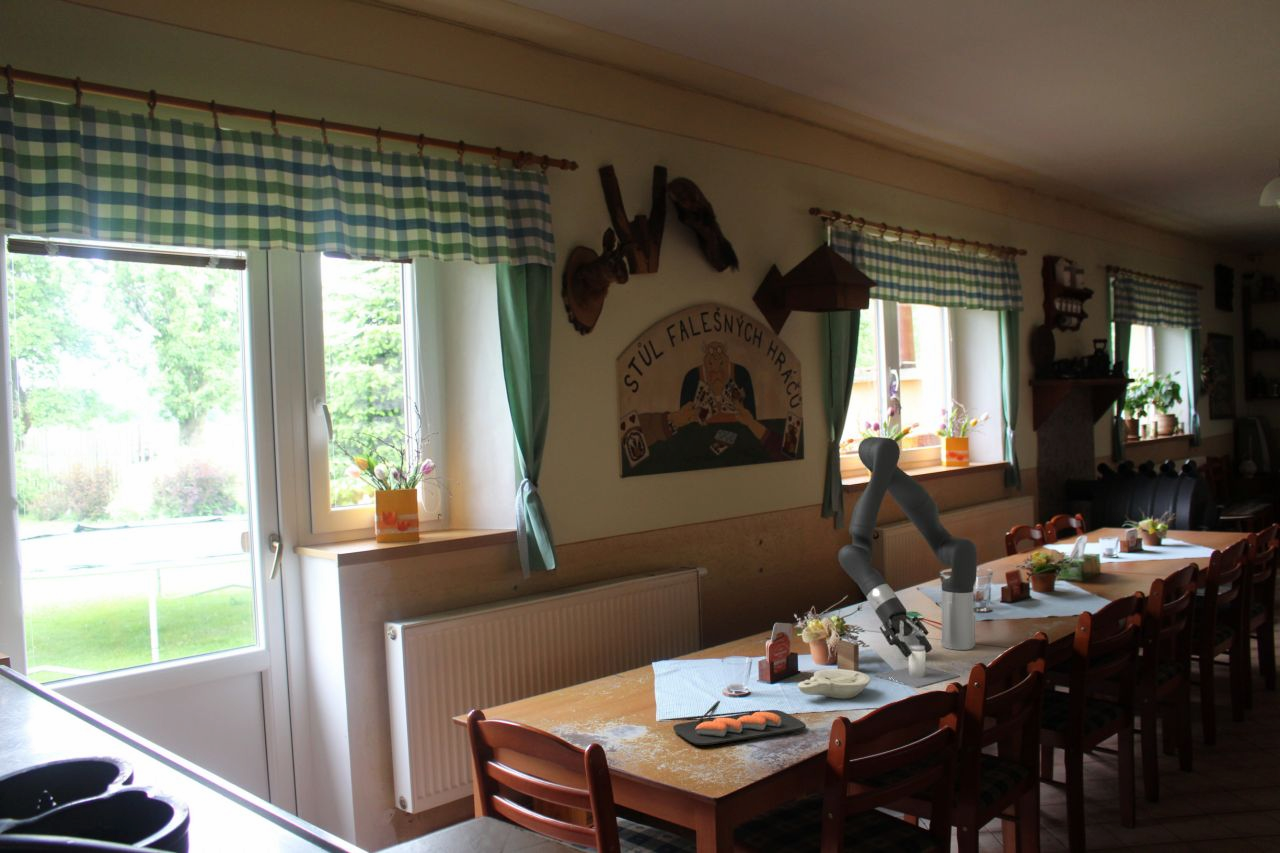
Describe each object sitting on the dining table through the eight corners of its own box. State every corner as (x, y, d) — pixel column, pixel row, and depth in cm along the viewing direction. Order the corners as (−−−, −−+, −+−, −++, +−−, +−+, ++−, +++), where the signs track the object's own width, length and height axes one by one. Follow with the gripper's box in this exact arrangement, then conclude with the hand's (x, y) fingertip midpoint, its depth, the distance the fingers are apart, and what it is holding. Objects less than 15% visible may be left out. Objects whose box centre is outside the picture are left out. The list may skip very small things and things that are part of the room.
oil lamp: (820, 711, 240) (820, 690, 240) (781, 696, 252) (781, 677, 252) (882, 697, 251) (882, 677, 251) (842, 683, 263) (842, 665, 263)
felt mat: (918, 665, 280) (918, 664, 280) (960, 676, 269) (960, 675, 269) (875, 676, 270) (875, 675, 270) (916, 688, 258) (916, 686, 258)
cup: (923, 661, 285) (923, 627, 284) (893, 660, 286) (893, 626, 286) (920, 654, 293) (920, 620, 293) (892, 653, 294) (892, 619, 294)
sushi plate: (696, 753, 213) (696, 736, 213) (641, 714, 240) (640, 698, 240) (811, 734, 224) (811, 717, 224) (745, 699, 252) (745, 684, 252)
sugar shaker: (915, 672, 272) (915, 643, 272) (929, 675, 269) (928, 646, 268) (905, 674, 270) (905, 645, 269) (918, 678, 266) (918, 648, 266)
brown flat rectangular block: (842, 668, 278) (842, 640, 278) (858, 673, 273) (858, 644, 273) (837, 669, 277) (837, 641, 277) (853, 674, 272) (853, 645, 272)
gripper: (876, 599, 271) (910, 649, 262) (910, 593, 280) (944, 641, 270) (861, 615, 276) (894, 665, 267) (895, 609, 284) (928, 656, 275)
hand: (919, 653), depth 269 cm, fingers open, 8 cm apart
